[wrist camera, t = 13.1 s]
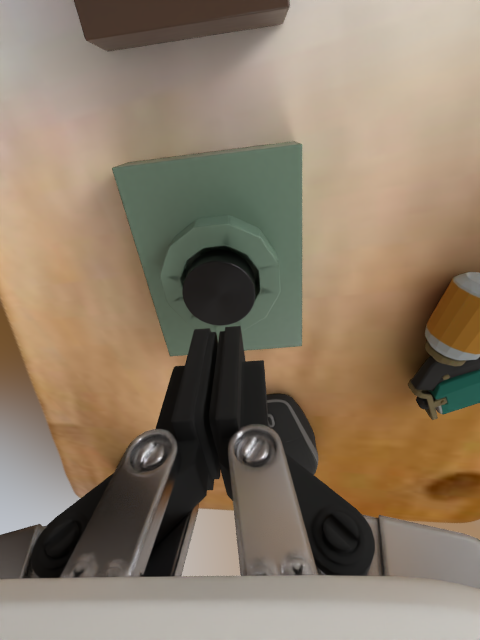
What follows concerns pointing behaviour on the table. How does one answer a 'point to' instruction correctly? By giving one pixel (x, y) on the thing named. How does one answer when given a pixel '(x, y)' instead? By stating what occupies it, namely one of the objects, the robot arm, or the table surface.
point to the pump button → (219, 288)
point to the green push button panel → (221, 234)
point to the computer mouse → (293, 430)
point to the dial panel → (171, 19)
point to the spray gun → (452, 350)
